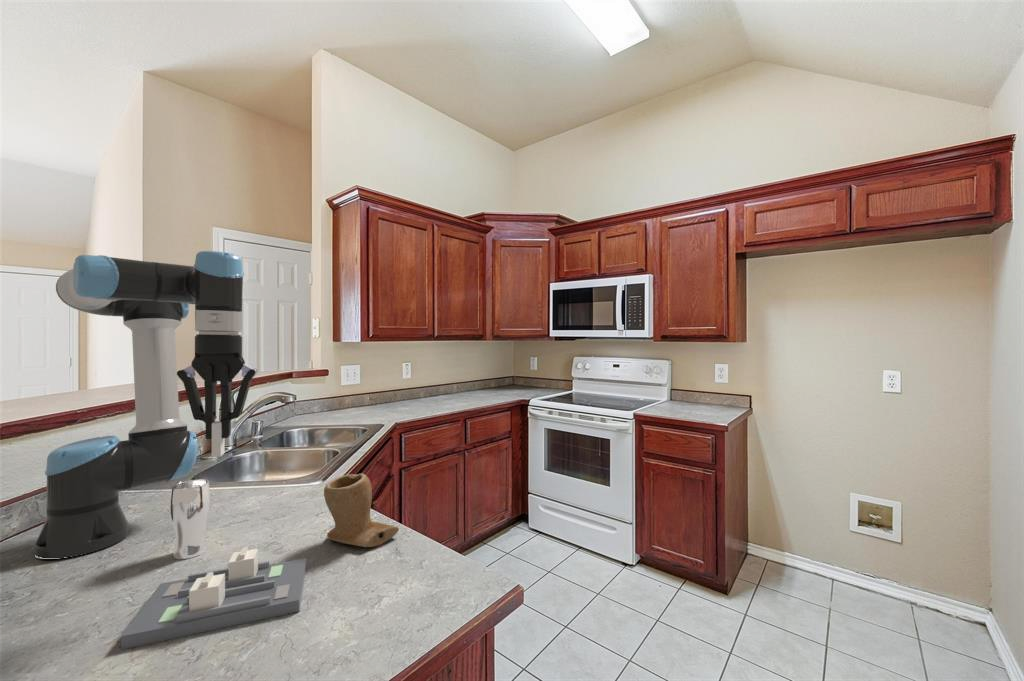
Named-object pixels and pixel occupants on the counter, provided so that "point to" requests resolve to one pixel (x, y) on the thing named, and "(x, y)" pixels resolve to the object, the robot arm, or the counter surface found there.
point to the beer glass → (190, 517)
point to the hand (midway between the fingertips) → (218, 454)
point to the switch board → (243, 603)
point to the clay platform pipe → (354, 512)
